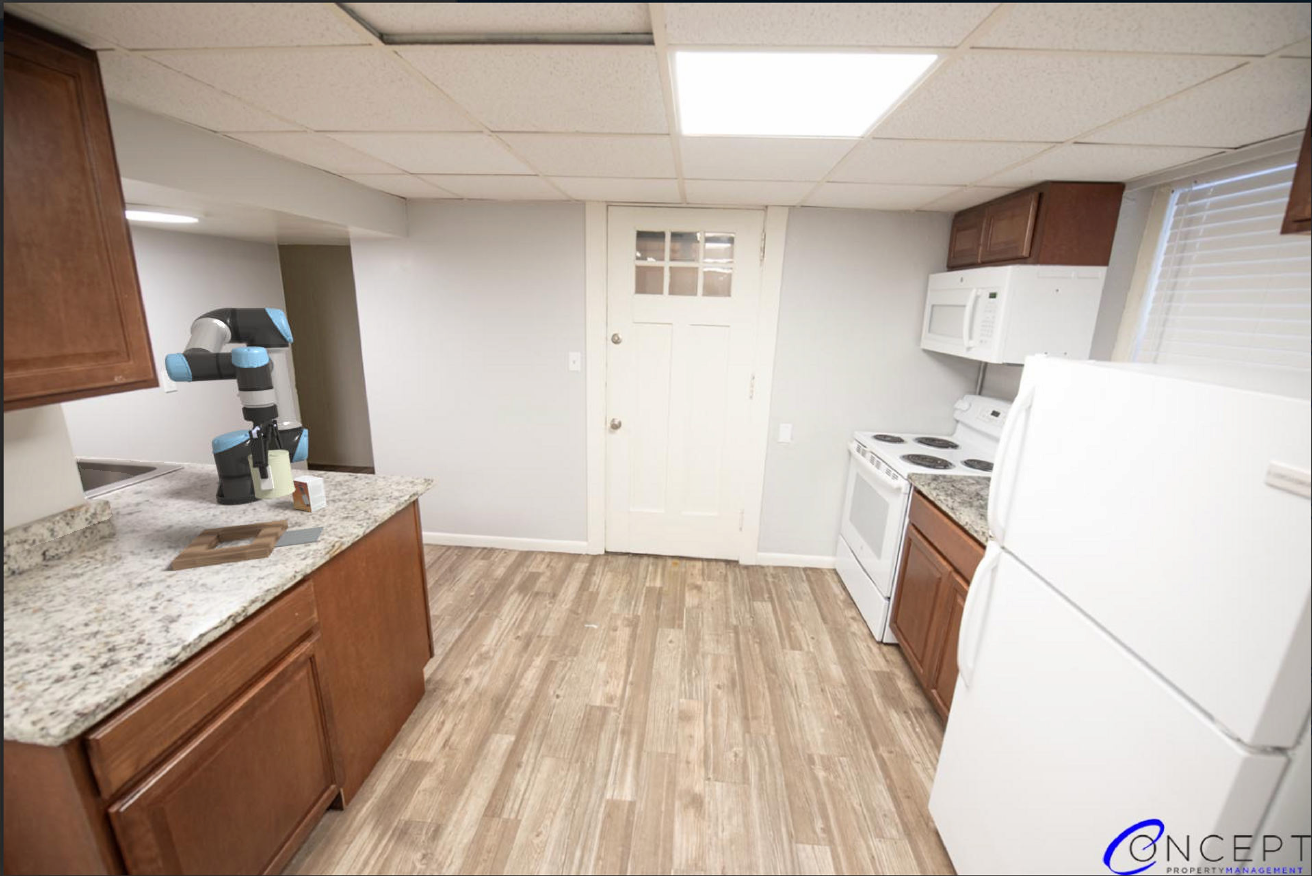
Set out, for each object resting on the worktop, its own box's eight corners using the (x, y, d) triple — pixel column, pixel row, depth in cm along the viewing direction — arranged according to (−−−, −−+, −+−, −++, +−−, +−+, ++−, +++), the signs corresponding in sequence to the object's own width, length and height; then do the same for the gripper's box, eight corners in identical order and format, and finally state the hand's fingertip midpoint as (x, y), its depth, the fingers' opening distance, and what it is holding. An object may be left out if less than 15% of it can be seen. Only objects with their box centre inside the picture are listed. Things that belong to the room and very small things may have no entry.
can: (273, 500, 135) (265, 458, 132) (246, 497, 137) (238, 455, 134) (303, 489, 144) (296, 449, 141) (278, 485, 146) (271, 446, 143)
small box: (294, 508, 165) (288, 479, 163) (310, 502, 171) (305, 474, 168) (311, 512, 163) (306, 482, 160) (327, 506, 168) (322, 477, 165)
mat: (284, 532, 149) (284, 531, 149) (323, 527, 153) (323, 526, 152) (274, 547, 140) (274, 546, 140) (316, 541, 144) (316, 540, 144)
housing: (206, 537, 145) (204, 529, 144) (288, 527, 152) (286, 519, 152) (173, 570, 127) (171, 562, 126) (268, 557, 135) (266, 549, 134)
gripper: (257, 398, 142) (271, 472, 148) (225, 413, 123) (242, 498, 129) (288, 397, 145) (300, 470, 151) (261, 412, 125) (277, 495, 131)
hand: (274, 483), depth 140 cm, fingers closed on can, 9 cm apart
